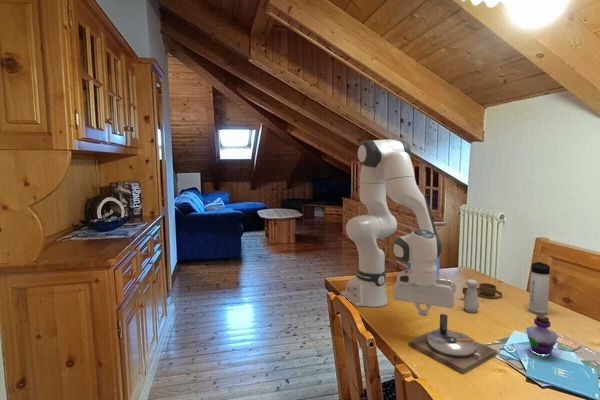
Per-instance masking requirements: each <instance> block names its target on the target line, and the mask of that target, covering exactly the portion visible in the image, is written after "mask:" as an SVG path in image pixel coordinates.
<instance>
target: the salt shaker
mask: <svg viewBox="0 0 600 400" xmlns="http://www.w3.org/2000/svg"><path fill="white" fill-rule="evenodd" d="M465 281H466V282H465V285H466V286H467V287H466V288H467V292H466V296H465V300H464V299H463V307H464V309H465V311H466V312H467V313H471V314H475V313H477V312H478V310H479V308H480V302H479V297H478V296H477V294H478V291H477V290H476V288H478V286H479V282H478V281H477V280H476V279H473V278H472V279H470V278H469V279H467V280H465Z"/></svg>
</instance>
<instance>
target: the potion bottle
mask: <svg viewBox="0 0 600 400" xmlns="http://www.w3.org/2000/svg"><path fill="white" fill-rule="evenodd" d="M550 321H551V320H550V318H549V317H548V316H546V315H537V314H536V316H535V318H534V319H533V323H534V325H535V326H534V325H531V326H528V327H525V330H526V333H527V334H526V335H527V339H528V340H529V345H530V349H532V351H534V352H536V353H538V354H546V355H547V354H549V353H551V354H552V353H553V349H554V346H556V344H557V340H558V338H559V336H558V334H557V333H556V331H554V330H551V329H549V328H550V327H551V324H552V323H551V322H550Z"/></svg>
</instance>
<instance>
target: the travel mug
mask: <svg viewBox="0 0 600 400" xmlns="http://www.w3.org/2000/svg"><path fill="white" fill-rule="evenodd" d="M530 272H531V273H530V287H529V303H528V305H529V306H528V311H529V312H530V313H532V314H534V315H536V316H537V315H541V316H546V315H548V313H549V311H548V310H549V296H550V295H549V294H550V293H549V292H550V281H551V279H550V277H551V276H550V275H551V266H550V265H549V264H547V263H544V262H541V261H536V262H533V263H531V271H530Z"/></svg>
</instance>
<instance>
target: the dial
mask: <svg viewBox="0 0 600 400" xmlns="http://www.w3.org/2000/svg"><path fill="white" fill-rule="evenodd" d="M439 328H440V330H438V331H433V330H432V331H433V332H431V331H430V332H431V333H429V334H428V336H427V343H428V345H429V346H430V347H431V348H432V349H433V350H435V351H436V352H438V353H441V354H444V355H447V356H451V357H469V356H472V355H474V354H475V353H476V352H477V343H476V342H477V341H476V342H475V340H474V339H473V338H472V337H471V336H468V335H467V334H465V333H462V332H458V331H456V330H455V331H453V330H450V329H448V315H447V314H446V313H445V314H444V313H441V314H439ZM447 329H448V330H447ZM449 330H450V331H449Z"/></svg>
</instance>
